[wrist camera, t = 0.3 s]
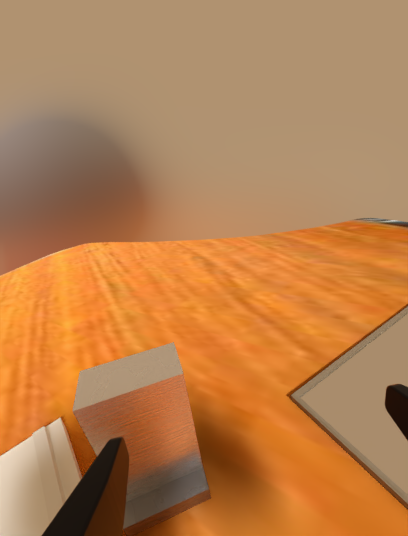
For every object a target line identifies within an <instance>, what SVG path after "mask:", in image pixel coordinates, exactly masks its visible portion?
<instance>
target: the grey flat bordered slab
mask: <svg viewBox="0 0 408 536" xmlns="http://www.w3.org/2000/svg"><path fill="white" fill-rule="evenodd" d="M393 384H402V385H404V386H407V387H408V306H407V307H406V308H405V309H404V310H402V311H401V312H400V313H398V314H397V315H396V316H394V317H393V318H392V319H390V320H389V321H388V322H386V323H385V324H384V325H382V326H381V327H380V328H379V329H377V330H376V331H375V332H373V333H372V334H371V335H369V336H368V337H367V338H365V339H364V340H363V341H361V342H360V343H359V344H357V345H356V346H355V347H354V348H352V349H351V350H350V351H348V352H347V353H346V354H344V355H343V356H342V357H340V358H339V359H338V360H336V361H335V362H334V363H332V364H331V365H330V366H329V367H327V368H326V369H325V370H323V371H322V372H321V373H319V374H318V375H317V376H315V377H314V378H313V379H311V380H310V381H309V382H308V383H306V384H305V385H304V386H302V387H301V388H300V389H298V390H297V391H296V392H294V393H293V394H292V395H291V400H292V401H293V402H294V403H295V404H296V405H297V406H298V407H299V408H300V409H302V410H303V411H304V412H305V413H306V414H307V415H308V416H309V417H310V418H311V419H312V420H313V421H314V422H315V423H316V424H317V425H319V426H320V427H321V428H322V429H323V430H324V431H325V432H326V433H327V434H328V435H329V436H330V437H331V438H332V439H333V440H334V441H336V442H337V443H338V444H339V445H340V446H341V447H342V448H343V449H344V450H345V451H346V452H347V453H348V454H349V455H350V456H351V457H353V458H354V459H355V460H356V461H357V462H358V463H359V464H360V465H361V466H362V467H363V468H364V469H365V470H366V471H367V472H368V473H370V474H371V475H372V476H373V477H374V478H375V479H376V480H377V481H378V482H379V483H380V484H381V485H382V486H383V487H384V488H385V489H387V490H388V491H389V492H390V493H391V494H392V495H393V496H394V497H395V498H396V499H397V500H398V501H399V502H400V503H401V504H402V505H404V506H405V507H406V508H407V509H408V441H407V439H406V438H405V436H404V435H403V434H402V432H401V431H400V429H399V428H398V426H397V425H396V424H395V422H394V421H393V419H392V418H391V416H390V415H389V413H388V412H387V410H386V408H385V395H386V388H387V386H389V385H393Z"/></svg>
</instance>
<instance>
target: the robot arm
mask: <svg viewBox="0 0 408 536" xmlns="http://www.w3.org/2000/svg"><path fill="white" fill-rule="evenodd" d="M385 408H386V410H387V412H388V413H389V415H390V416H391V418H392V419H393V421H394V422H395V424H396V425H397V426H398V428H399V429H400V431H401V432H402V434H403V435H404V436H405V438H406V439H407V441H408V387H407V386H404V385H402V384H393V385H389V386H387V388H386V395H385ZM128 472H129V453H128V450H127V446H126V443H125V440H124V438H123V437H115V438H111V439H110V440H109V441H108V442H107V443H106V445H105V446H104V448H103V449H102V450H101V452H100V453H99V455H98V456H97V457H96V459H95V460H94V462H93V463H92V465H91V466H90V467H89V469H88V470H87V472H86V473H85V474H84V476H83V477H82V479H81V480H80V482H79V483H78V484H77V486H76V487H75V489H74V490H73V491H72V493H71V494H70V496H69V497H68V499H67V500H66V501H65V503H64V504H63V506H62V507H61V508H60V510H59V511H58V513H57V514H56V516H55V517H54V518H53V520H52V521H51V523H50V524H49V525H48V527H47V528H46V530H45V531H44V533H43V534H42V535H41V536H122V532H123V526H124V517H125V506H126V495H127V483H128Z"/></svg>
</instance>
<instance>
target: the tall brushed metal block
mask: <svg viewBox="0 0 408 536" xmlns="http://www.w3.org/2000/svg"><path fill="white" fill-rule="evenodd" d="M73 413H74V415H75V417H76V418H77V420H78V422H79V424H80V426H81V428H82V430H83V431H84V433H85V435H86V437H87V439H88V441H89V442H90V444H91V446H92V448H93V450H94V452H95V453H96V455H97V456H98V455H99V453H100V452H101V450H102V449H103V448H104V446H105V445H106V443H107V442H108V441H109V440H110V439H111V438H115V437H123V438H124V440H125V443H126V446H127V450H128V453H129V472H128V483H127V495H126V506H125V517H124V526H123V530H124V532H125V534H126V535H127V536H133V535H135V534H137V533H140V532H142V531H144V530H146V529H148V528H150V527H152V526H154V525H156V524H158V523H160V522H163V521H165V520H167V519H169V518H171V517H173V516H175V515H177V514H179V513H181V512H183V511H186V510H188V509H190V508H192V507H194V506H196V505H198V504H200V503H202V502H204V501H206V500H208V499H211V496H210V491H209V487H208V483H207V480H206V476H205V472H204V469H203V465H202V460H201V455H200V450H199V446H198V441H197V436H196V431H195V427H194V422H193V417H192V412H191V408H190V403H189V398H188V393H187V389H186V384H185V379H184V374H183V371H182V368H181V364H180V361H179V358H178V355H177V351H176V348H175V345H174V342H173V343H170V344H167V345H164V346H160V347H157V348H154V349H151V350H147V351H144V352H141V353H138V354H134V355H131V356H128V357H125V358H122V359H118V360H115V361H112V362H109V363H105V364H102V365H99V366H96V367H92V368H89V369H86V370H83V371H80V373H79V379H78V384H77V390H76V395H75V401H74V407H73Z"/></svg>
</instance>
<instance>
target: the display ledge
mask: <svg viewBox="0 0 408 536" xmlns="http://www.w3.org/2000/svg"><path fill="white" fill-rule="evenodd" d="M32 434H33V435H32V436H31V437H29V438H28V439H26V440H25V441H23V442H21V443H20V444H18V445H17V446H15V447H14V448H12V449H11V450H9V451H8V452H6V453H4V454H3V455H1V456H0V536H41V535H42V534H43V533H44V531H45V530H46V528H47V527H48V525H49V524H50V523H51V521H52V520H53V518H54V517H55V516H56V514H57V513H58V511H59V510H60V508H61V507H62V506H63V504H64V503H65V501H66V500H67V499H68V497H69V496H70V494H71V493H72V491H73V490H74V489H75V487H76V486H77V484H78V483H79V482H80V480H81V479H82V475H81V472H80V469H79V466H78V463H77V460H76V457H75V454H74V451H73V448H72V445H71V442H70V438H69V435H68V432H67V429H66V426H65V425H64V423H63V421H62V419H61V418H59V419H57V420H56V421H54V422H52V423H51V424H49V425H48V426H46V427H45V426H43V427H42V428H40V429H39V430H37V431H35V432H34V433H32Z"/></svg>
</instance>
